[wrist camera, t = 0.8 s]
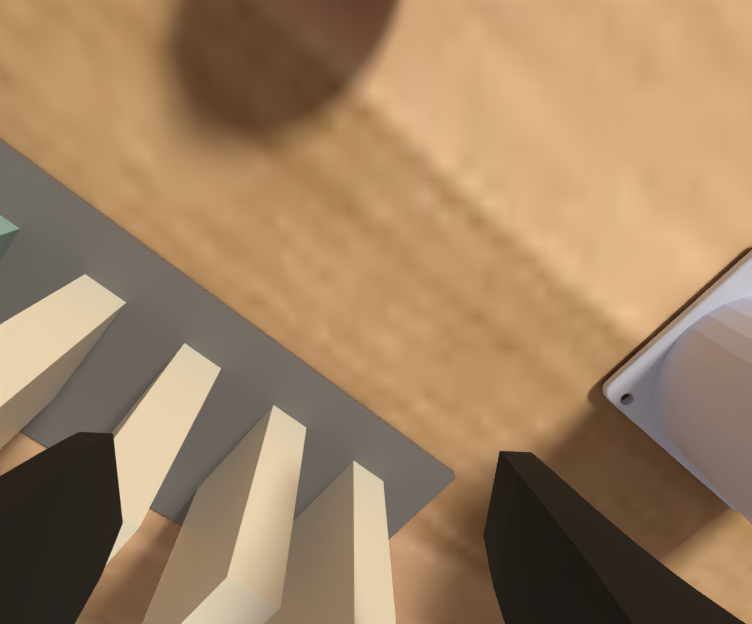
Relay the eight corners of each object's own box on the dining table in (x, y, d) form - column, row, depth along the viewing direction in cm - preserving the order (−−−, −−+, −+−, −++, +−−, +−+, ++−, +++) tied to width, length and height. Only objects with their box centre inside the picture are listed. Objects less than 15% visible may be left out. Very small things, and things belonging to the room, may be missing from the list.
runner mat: (453, 471, 22) (455, 477, 22) (318, 598, 24) (317, 605, 24) (-55, 97, 16) (-65, 97, 16) (-175, 307, 18) (-186, 310, 18)
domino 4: (383, 481, 21) (400, 676, 14) (306, 555, 23) (284, 772, 15) (353, 460, 21) (354, 650, 14) (277, 536, 22) (239, 750, 15)
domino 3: (306, 427, 20) (280, 608, 13) (230, 508, 22) (166, 716, 14) (273, 404, 20) (226, 577, 13) (197, 488, 21) (113, 691, 14)
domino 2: (221, 368, 19) (139, 527, 12) (146, 456, 21) (28, 651, 13) (184, 342, 19) (75, 490, 11) (110, 434, 20) (-33, 622, 13)
